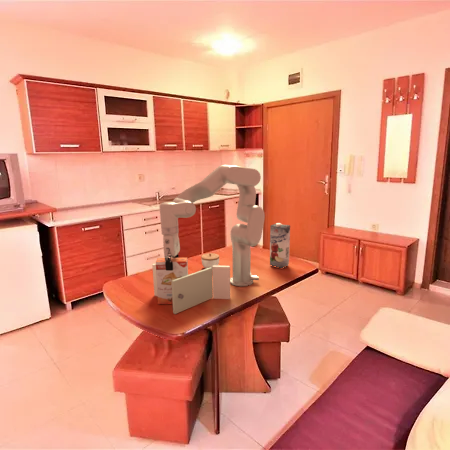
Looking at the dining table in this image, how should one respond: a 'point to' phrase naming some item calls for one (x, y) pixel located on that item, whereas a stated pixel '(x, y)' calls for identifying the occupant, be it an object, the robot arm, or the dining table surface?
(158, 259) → the cracker box
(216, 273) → the door frame
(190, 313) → the dining table surface
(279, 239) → the juice carton
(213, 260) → the lidded jar
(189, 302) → the door
